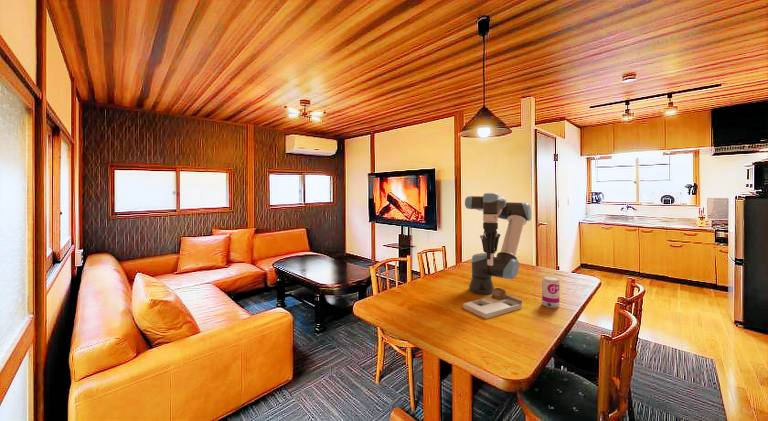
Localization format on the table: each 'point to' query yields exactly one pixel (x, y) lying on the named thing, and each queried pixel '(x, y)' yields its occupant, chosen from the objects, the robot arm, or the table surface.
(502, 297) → the block
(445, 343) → the table surface
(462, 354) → the table surface
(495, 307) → the box
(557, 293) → the soda can
